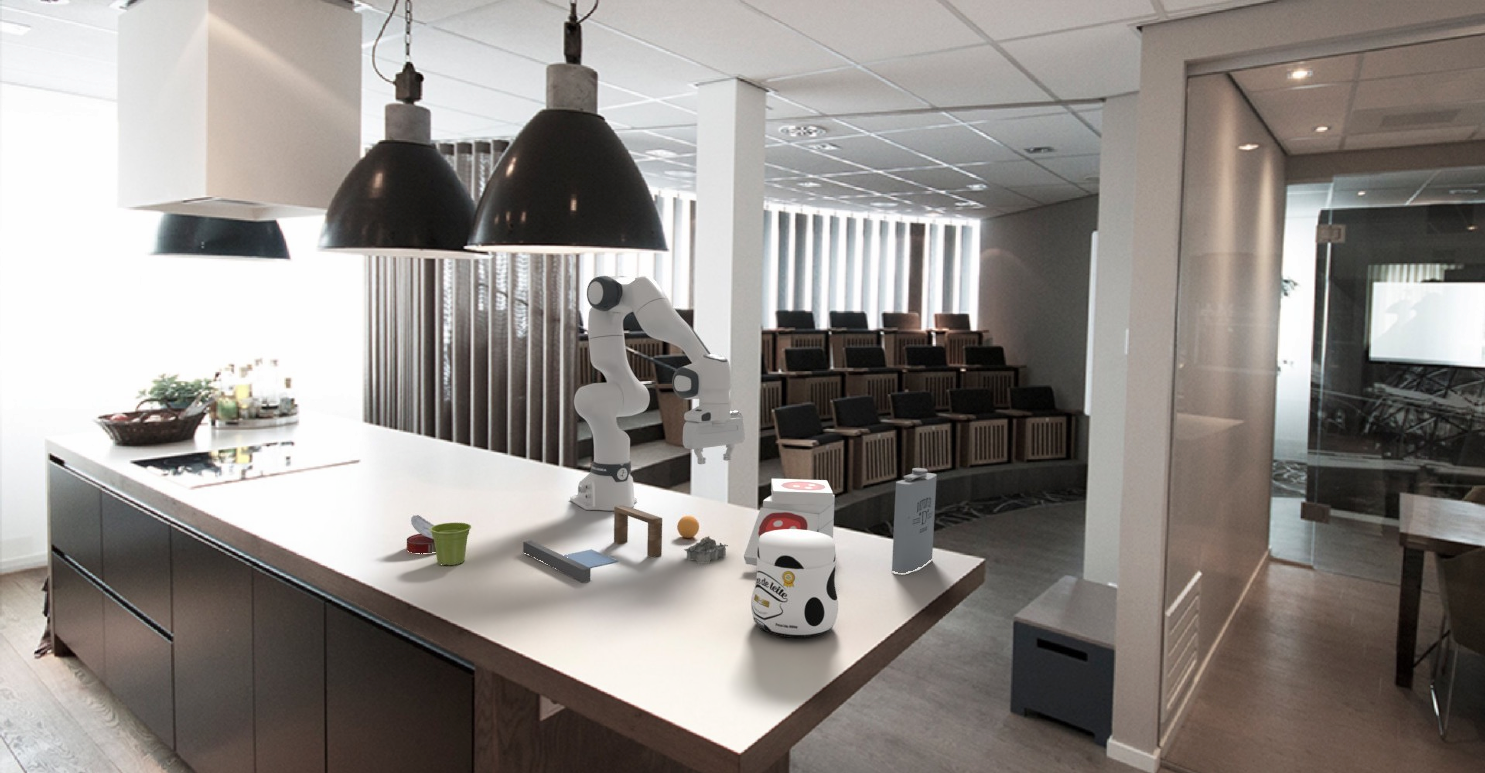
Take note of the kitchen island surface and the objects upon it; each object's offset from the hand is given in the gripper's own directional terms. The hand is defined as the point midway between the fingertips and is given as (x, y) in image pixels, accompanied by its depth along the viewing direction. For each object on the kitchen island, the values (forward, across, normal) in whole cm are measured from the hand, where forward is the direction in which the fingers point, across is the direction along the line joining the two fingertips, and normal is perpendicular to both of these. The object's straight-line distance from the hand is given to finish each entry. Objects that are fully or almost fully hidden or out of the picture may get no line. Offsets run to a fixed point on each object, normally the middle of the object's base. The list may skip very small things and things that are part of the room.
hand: (714, 462), depth 228 cm
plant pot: (+20, +68, -18) cm, 73 cm away
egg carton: (+21, +16, +16) cm, 31 cm away
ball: (+17, +9, 0) cm, 19 cm away
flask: (+22, -20, +54) cm, 61 cm away
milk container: (+22, +32, +62) cm, 73 cm away
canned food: (+19, +68, -32) cm, 78 cm away
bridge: (+20, +26, 0) cm, 33 cm away
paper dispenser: (+21, 0, +31) cm, 37 cm away
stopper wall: (+20, +50, 0) cm, 54 cm away
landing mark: (+20, +42, 0) cm, 47 cm away
